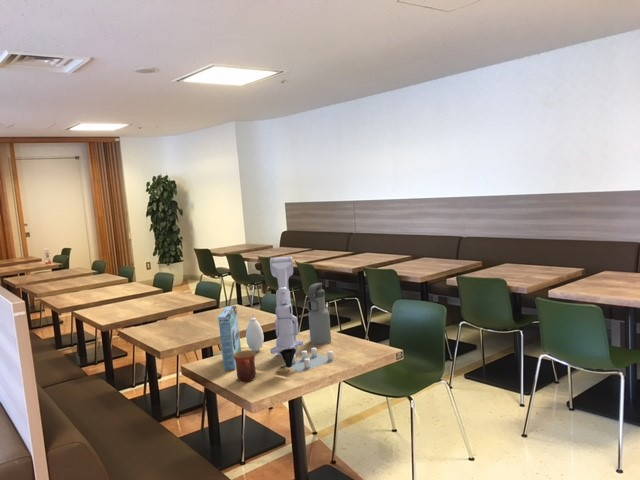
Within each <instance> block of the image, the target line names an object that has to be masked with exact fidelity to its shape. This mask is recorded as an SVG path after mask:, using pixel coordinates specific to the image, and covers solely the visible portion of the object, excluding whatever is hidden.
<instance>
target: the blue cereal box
mask: <svg viewBox="0 0 640 480" xmlns="http://www.w3.org/2000/svg"><path fill="white" fill-rule="evenodd" d="M218 325H219V333H220V334H219V336H220V345H221V354H222V364H223V365H222V366H223V371H232V370H236V362H235V359H234V357H233V355H234V354H235V353H237V352H240V351H242V347H241V339H240V327H239V319H238V310H237V305H231V306H226V307H224V310H223V311H222V312H221V313H220V314H219V316H218Z"/></svg>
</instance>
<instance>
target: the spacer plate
mask: <svg viewBox="0 0 640 480" xmlns="http://www.w3.org/2000/svg"><path fill="white" fill-rule="evenodd" d="M310 352H311V353H310V354H311V355H308V351H307V350H301V352H300V353H301V358H299V359H297V358H296V357H297V356H295V354H294V357H293V361H292V367H290V368H289V369H291V370H294V371H295V372H298V373H302V372H306V371H309V370H311V369H314V368H318V367H321V366H324V365H326V364H329V363H333V362H335V361H336V360H335V358H334V357H335V356H334V351H332V350H328V351H327V356H324V355H322V354H319V353H318V351H317V347H311V348H310ZM282 365H286V364H285V363H283V364H282Z"/></svg>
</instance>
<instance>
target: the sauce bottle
mask: <svg viewBox="0 0 640 480" xmlns="http://www.w3.org/2000/svg"><path fill="white" fill-rule="evenodd" d="M251 316H252V318H249V319H250V320H249V322H248V324H247V327H246V332H245V340H246V341H245V342H246V344H247V346H248V348H249V350H251V351H255V352H258V351H260V350H261V349H262V347H263V345H264V337H265V336H264V332H263V328H262V326H261V324H260V323H259V321H257V318H256V317H254V313H253V312H252V315H251Z"/></svg>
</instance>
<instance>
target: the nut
mask: <svg viewBox="0 0 640 480" xmlns="http://www.w3.org/2000/svg"><path fill="white" fill-rule="evenodd" d="M289 369H290V368H288V366H287V365H283V364H282V365H279V366H278V367H276V372H277V373H280V374H282V373H287V372H288V371H290V370H289Z"/></svg>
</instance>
